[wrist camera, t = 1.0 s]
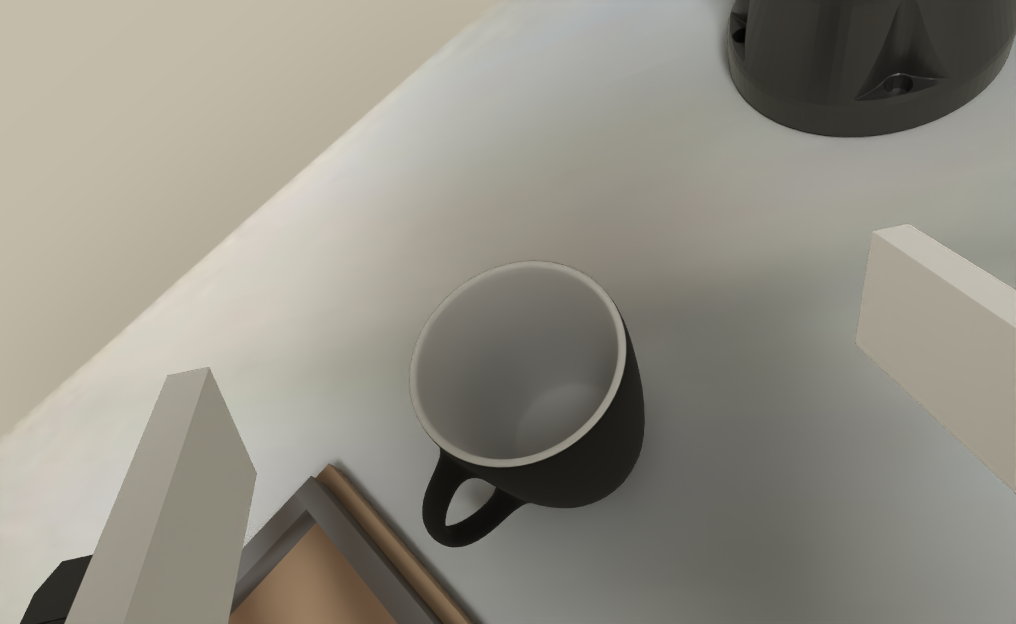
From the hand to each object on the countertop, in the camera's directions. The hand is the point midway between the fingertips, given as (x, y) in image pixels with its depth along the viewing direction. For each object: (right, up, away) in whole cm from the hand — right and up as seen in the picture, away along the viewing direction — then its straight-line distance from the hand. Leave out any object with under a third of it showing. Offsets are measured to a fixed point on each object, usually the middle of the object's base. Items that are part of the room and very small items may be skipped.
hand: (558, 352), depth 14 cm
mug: (+1, -7, +22) cm, 23 cm away
